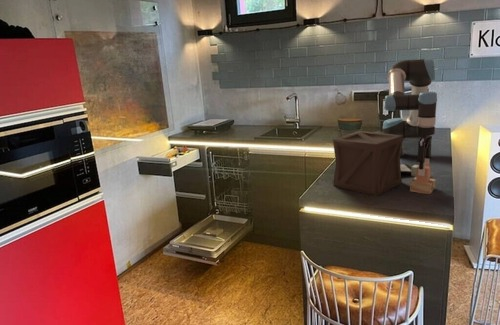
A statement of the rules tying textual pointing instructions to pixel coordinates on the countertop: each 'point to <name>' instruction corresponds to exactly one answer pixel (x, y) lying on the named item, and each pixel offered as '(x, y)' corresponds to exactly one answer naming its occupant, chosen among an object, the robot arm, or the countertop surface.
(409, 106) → the robot arm
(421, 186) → the oak block
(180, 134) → the countertop surface
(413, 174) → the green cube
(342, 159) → the wooden crate
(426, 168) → the terracotta block
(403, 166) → the empty snack wrapper
